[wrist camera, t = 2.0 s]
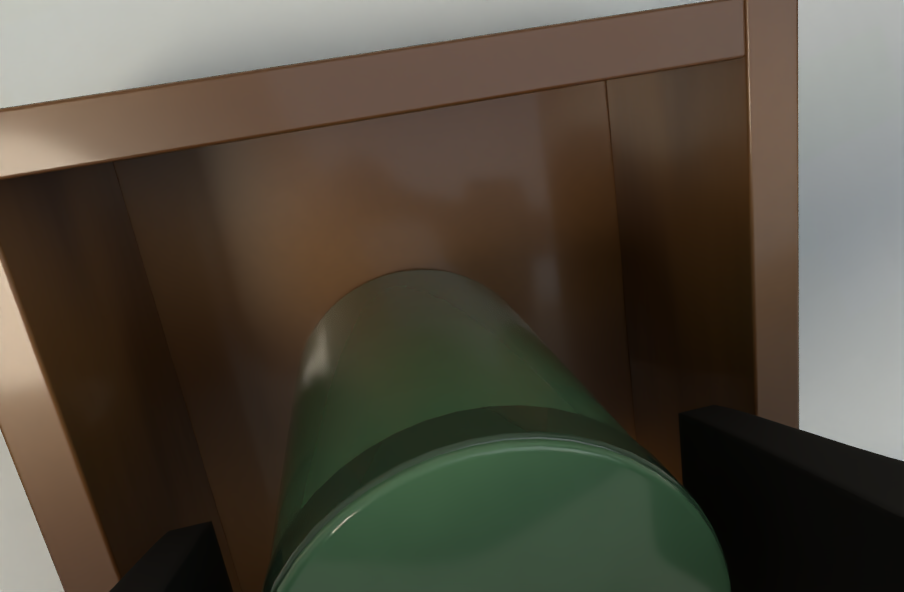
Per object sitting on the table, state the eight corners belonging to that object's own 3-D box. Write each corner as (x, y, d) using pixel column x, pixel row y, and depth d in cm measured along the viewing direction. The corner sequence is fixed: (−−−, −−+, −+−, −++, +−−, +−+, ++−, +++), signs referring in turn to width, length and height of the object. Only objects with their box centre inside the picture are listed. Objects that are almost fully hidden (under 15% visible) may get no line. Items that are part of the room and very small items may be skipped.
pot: (551, 465, 16) (746, 781, 8) (323, 520, 15) (311, 914, 8) (523, 244, 14) (732, 387, 7) (267, 293, 14) (183, 513, 6)
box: (71, 122, 13) (-123, 127, 8) (622, 36, 14) (800, -14, 9) (240, 660, 17) (194, 924, 11) (660, 551, 18) (801, 739, 13)
